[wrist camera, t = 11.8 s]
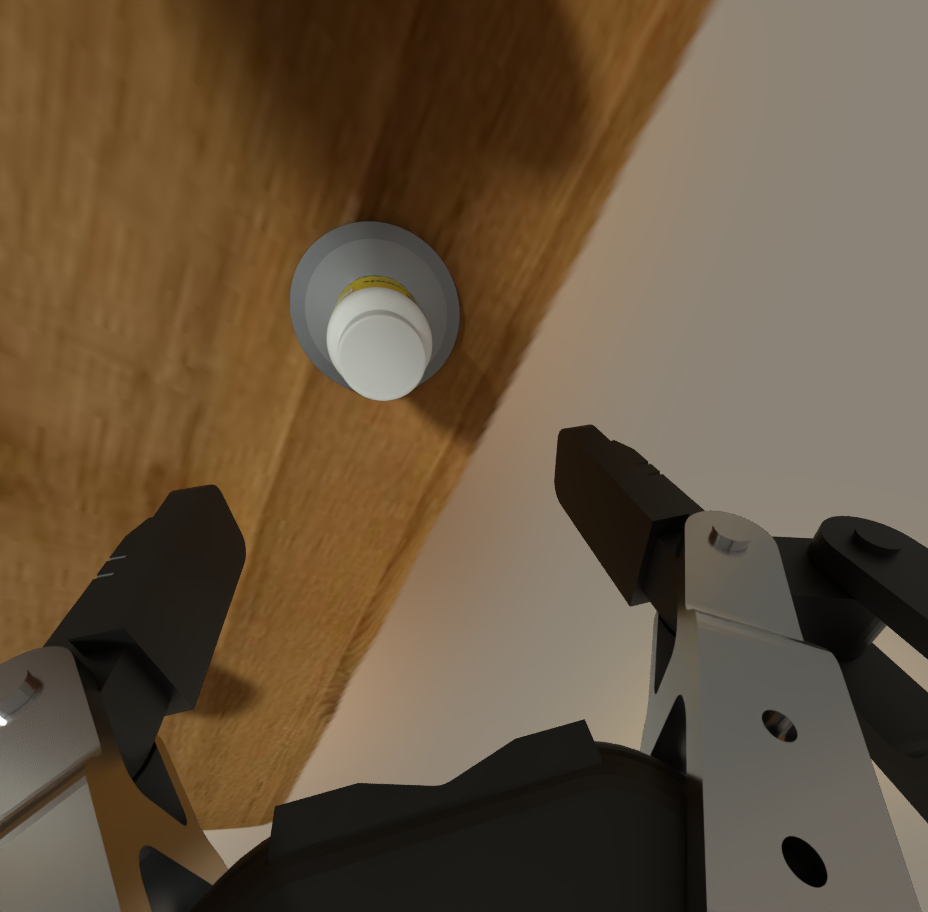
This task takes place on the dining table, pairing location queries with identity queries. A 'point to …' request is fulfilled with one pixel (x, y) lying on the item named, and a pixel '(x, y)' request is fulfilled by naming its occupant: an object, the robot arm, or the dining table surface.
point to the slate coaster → (371, 254)
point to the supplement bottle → (379, 338)
